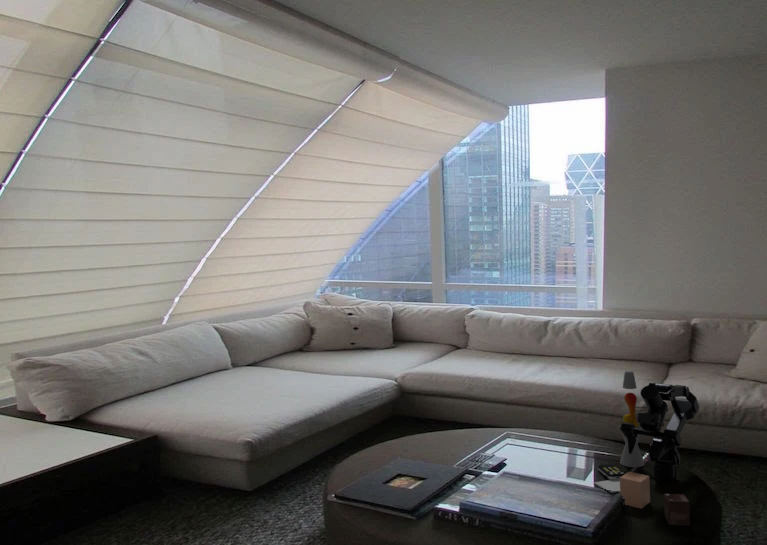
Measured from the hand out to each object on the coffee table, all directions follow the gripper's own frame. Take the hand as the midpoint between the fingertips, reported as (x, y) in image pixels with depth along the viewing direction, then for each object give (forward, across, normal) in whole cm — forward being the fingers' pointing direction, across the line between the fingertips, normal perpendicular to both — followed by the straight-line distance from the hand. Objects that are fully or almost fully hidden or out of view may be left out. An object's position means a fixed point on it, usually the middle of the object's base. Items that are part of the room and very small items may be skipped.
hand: (643, 456), depth 217 cm
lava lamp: (-10, -16, +29) cm, 34 cm away
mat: (+8, -11, +10) cm, 17 cm away
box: (+19, +15, 0) cm, 24 cm away
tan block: (+15, 0, +4) cm, 15 cm away
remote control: (+1, -17, +17) cm, 24 cm away
